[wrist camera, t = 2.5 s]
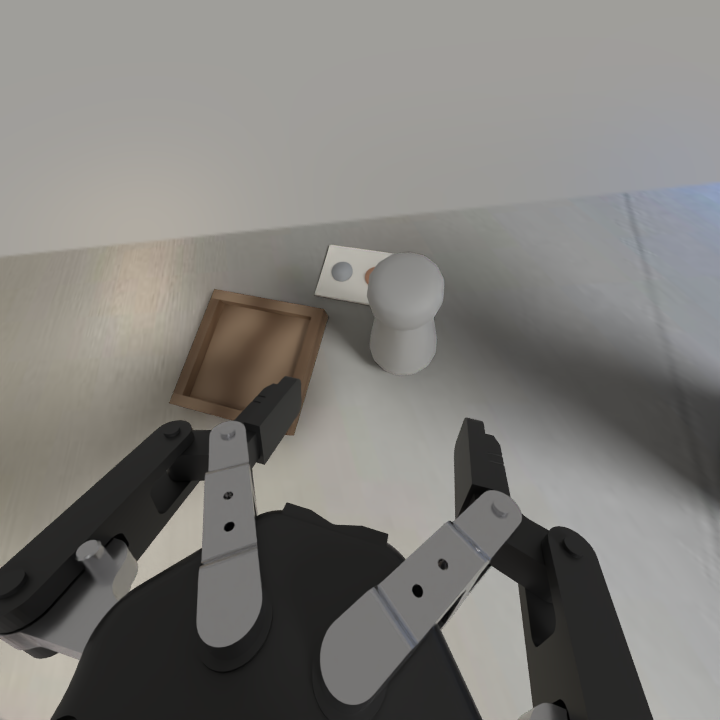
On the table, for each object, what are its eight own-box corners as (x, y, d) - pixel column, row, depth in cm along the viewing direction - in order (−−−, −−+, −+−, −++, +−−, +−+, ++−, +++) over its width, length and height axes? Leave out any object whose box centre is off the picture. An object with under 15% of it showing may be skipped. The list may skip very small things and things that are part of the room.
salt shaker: (376, 319, 29) (359, 229, 16) (435, 324, 28) (465, 232, 15) (368, 377, 27) (343, 326, 15) (430, 384, 27) (459, 336, 14)
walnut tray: (328, 316, 30) (324, 309, 28) (293, 435, 27) (286, 435, 25) (224, 297, 32) (214, 289, 30) (182, 405, 29) (169, 403, 27)
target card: (403, 256, 30) (403, 253, 30) (390, 308, 29) (390, 306, 28) (330, 246, 32) (329, 243, 31) (315, 295, 30) (314, 293, 30)
